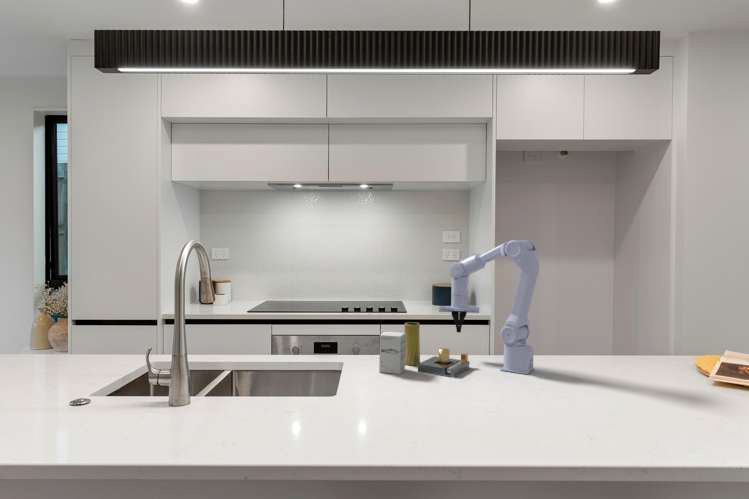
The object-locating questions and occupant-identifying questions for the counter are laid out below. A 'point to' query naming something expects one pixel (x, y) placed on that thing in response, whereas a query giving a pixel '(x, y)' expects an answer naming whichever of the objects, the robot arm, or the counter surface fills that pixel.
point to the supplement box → (392, 352)
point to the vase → (412, 344)
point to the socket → (442, 367)
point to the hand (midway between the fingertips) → (458, 331)
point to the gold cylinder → (444, 356)
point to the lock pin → (463, 358)
